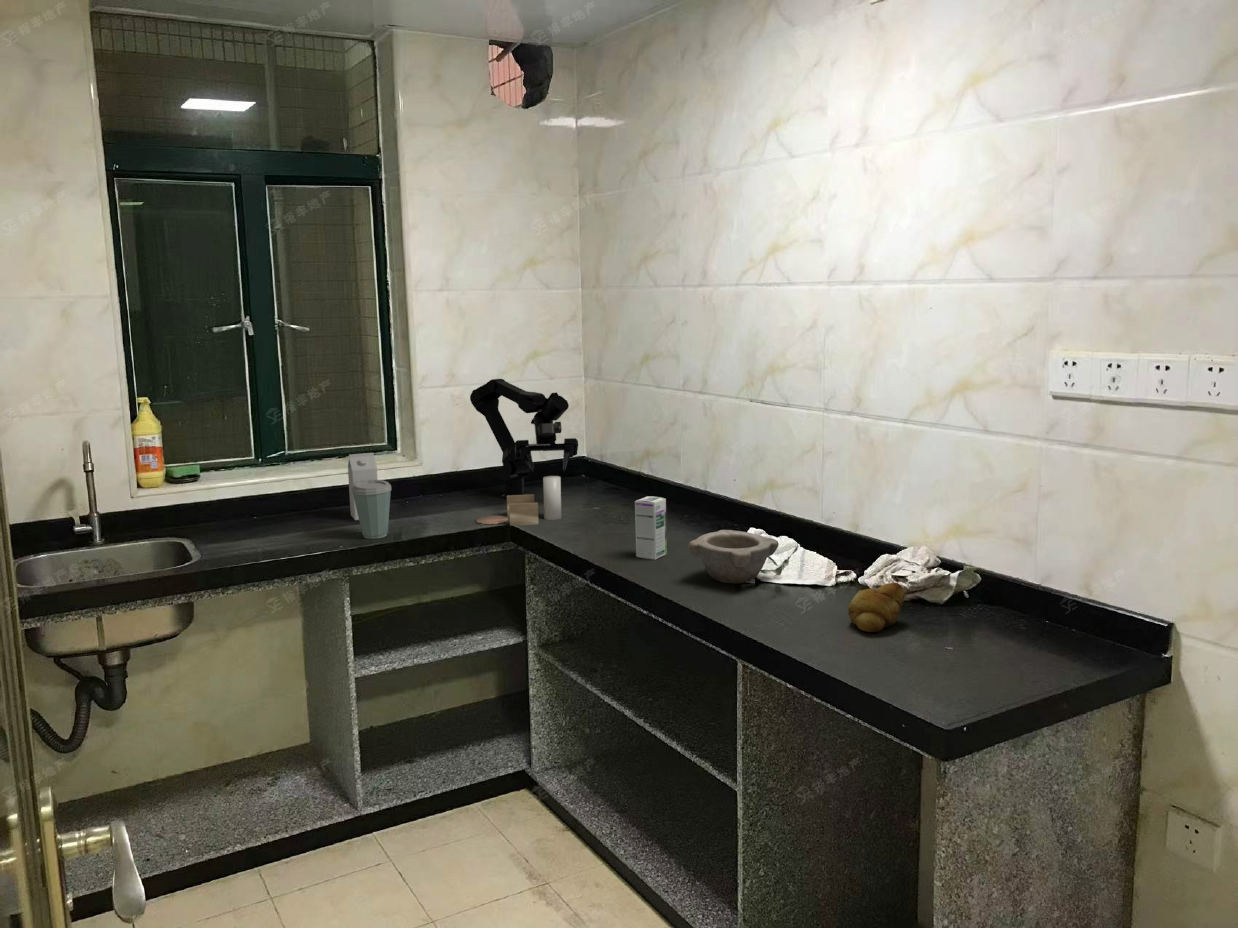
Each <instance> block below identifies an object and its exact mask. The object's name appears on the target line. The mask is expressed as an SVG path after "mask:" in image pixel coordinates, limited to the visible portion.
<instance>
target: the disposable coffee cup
mask: <svg viewBox="0 0 1238 928" xmlns="http://www.w3.org/2000/svg"><path fill="white" fill-rule="evenodd" d="M377 479H378V478H377ZM377 479H366V480H360V481H357V482H354V484H353V487H352V493H353V496H354V500H355V504H356V509H357V513H358V517H359V520H358V521H359V525H360V529H361V534H362V535H363V538H364V539H370V540H375V539H381V538H385V537H387V536H388V533H389V518H390V505H391V495H392V494H391V491H392V485H391V483H390V482H388V481H386V480H384V479H383V480H381V479H378V480H377Z"/></svg>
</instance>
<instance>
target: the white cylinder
mask: <svg viewBox="0 0 1238 928" xmlns="http://www.w3.org/2000/svg"><path fill="white" fill-rule="evenodd" d="M542 477H543V478H542V485H543V486H542V487H543V488H542V489H543V491H542V492H543V518H544V520H547V521H548V520H549V521H555V520H560V519H562V491H561V490H562V489H561V488H562V485H561V483H562V482H561V481H562V479H561V478H562V477H561V476H559V475H547V476H542Z"/></svg>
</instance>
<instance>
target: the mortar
mask: <svg viewBox="0 0 1238 928" xmlns="http://www.w3.org/2000/svg"><path fill="white" fill-rule="evenodd" d="M778 548H779V542H778V540H776V539H775V538H772V537H766V536H763V535H761V534H756V533H751V532H747V531H741V530H732V529H720V530H717V531H713V532H708V533H704V534H702V535H700V536H699V537H696V539H692V540H691V541H689V542H688V545H687V549H688V551H689V553H690V554H691V555H692V556H694V557H696V558H699V559H700V561H701V563H702V566H703V567H704V569H705V571H706V572H707V573H708V575H709V577H711V578H712V579H713V580H715V581H718V582H721V583H725V584H744V583H748V582H751V581H753V580H755V579H756V577H758V575H759V574H760V572H761V570H762V569H763V568H764V565H765V563H766V561H767V559H768V558H769V557H771V556H773V555H774V553H775V552H776V551H777V549H778Z"/></svg>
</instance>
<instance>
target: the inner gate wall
mask: <svg viewBox="0 0 1238 928" xmlns="http://www.w3.org/2000/svg"><path fill="white" fill-rule="evenodd" d="M516 503H536V501H535V494H533V493H532V494H528V495H509V496H507V498H506V516H507V517H510V515H509V504H516Z"/></svg>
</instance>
